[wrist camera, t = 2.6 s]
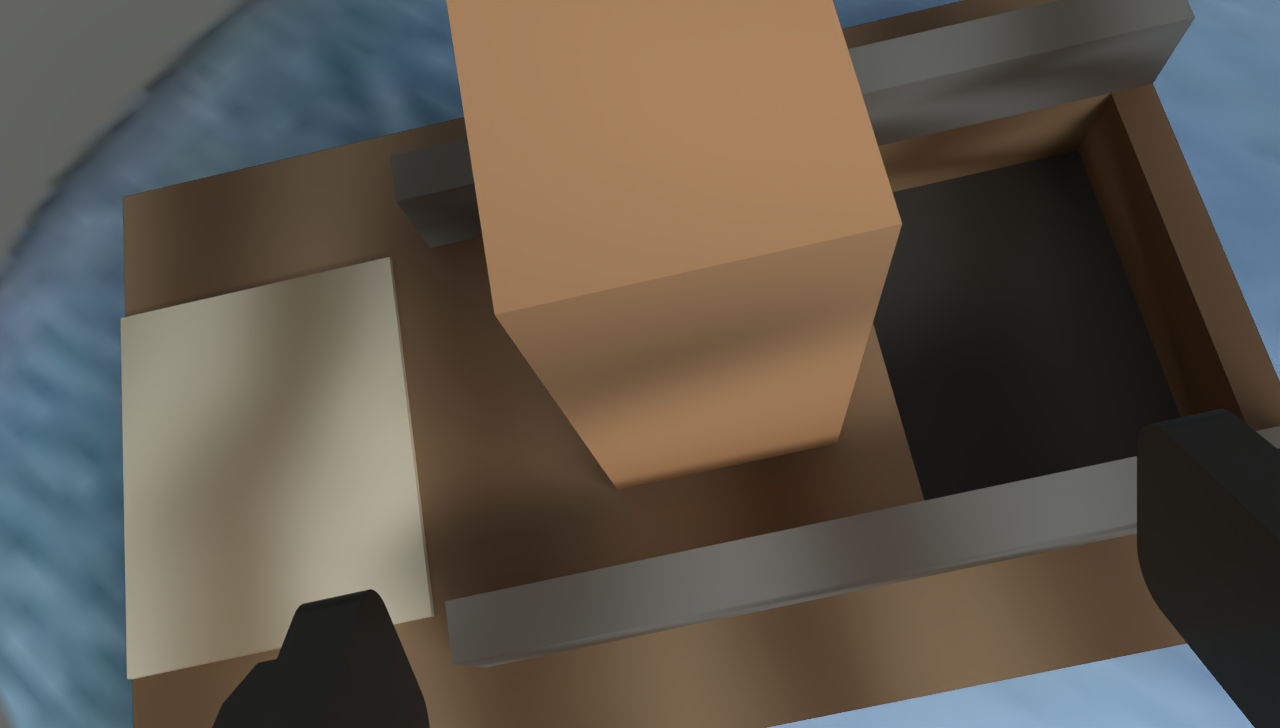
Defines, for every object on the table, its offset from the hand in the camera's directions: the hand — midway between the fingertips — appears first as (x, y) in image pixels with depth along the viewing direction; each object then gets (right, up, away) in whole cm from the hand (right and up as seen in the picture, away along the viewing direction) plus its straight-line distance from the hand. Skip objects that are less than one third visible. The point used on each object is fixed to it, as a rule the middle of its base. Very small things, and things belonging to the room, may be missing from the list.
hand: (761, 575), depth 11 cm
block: (0, +2, +13) cm, 13 cm away
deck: (0, +1, +16) cm, 16 cm away
